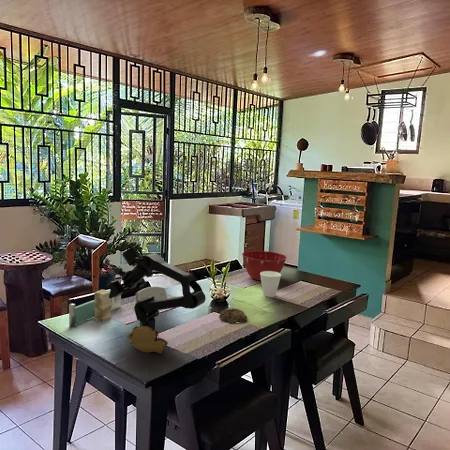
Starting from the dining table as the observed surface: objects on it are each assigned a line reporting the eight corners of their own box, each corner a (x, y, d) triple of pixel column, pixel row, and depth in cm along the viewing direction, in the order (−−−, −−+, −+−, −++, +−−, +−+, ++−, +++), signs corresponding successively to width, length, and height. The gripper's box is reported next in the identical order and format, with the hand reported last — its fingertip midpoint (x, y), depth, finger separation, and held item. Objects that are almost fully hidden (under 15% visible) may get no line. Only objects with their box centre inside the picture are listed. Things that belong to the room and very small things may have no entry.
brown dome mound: (239, 313, 201) (240, 303, 200) (250, 322, 189) (250, 312, 189) (215, 315, 196) (215, 305, 195) (224, 325, 185) (225, 315, 184)
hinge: (140, 309, 199) (137, 289, 200) (135, 310, 202) (133, 289, 203) (169, 303, 209) (166, 284, 210) (165, 304, 213) (162, 284, 214)
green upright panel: (77, 325, 176) (77, 308, 174) (74, 324, 177) (73, 307, 175) (113, 310, 195) (113, 294, 194) (109, 309, 196) (109, 294, 195)
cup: (283, 297, 227) (285, 276, 225) (264, 299, 222) (266, 277, 220) (273, 291, 238) (274, 270, 236) (255, 292, 233) (256, 271, 231)
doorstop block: (110, 319, 185) (111, 291, 184) (103, 322, 181) (103, 294, 179) (102, 316, 188) (102, 289, 186) (94, 320, 183) (94, 292, 181)
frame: (72, 328, 173) (71, 305, 172) (68, 327, 175) (67, 304, 173) (121, 306, 201) (121, 287, 200) (118, 306, 202) (118, 286, 201)
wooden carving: (169, 351, 156) (169, 327, 155) (164, 357, 152) (165, 331, 150) (130, 345, 160) (130, 321, 159) (124, 350, 156) (124, 325, 154)
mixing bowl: (263, 270, 283) (264, 248, 281) (294, 280, 262) (296, 257, 259) (232, 276, 265) (233, 253, 263) (263, 287, 244) (264, 262, 241)
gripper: (140, 255, 182) (121, 275, 189) (111, 263, 166) (91, 285, 172) (154, 275, 180) (134, 294, 186) (126, 285, 163) (105, 306, 170)
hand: (116, 294), depth 179 cm, fingers open, 9 cm apart
